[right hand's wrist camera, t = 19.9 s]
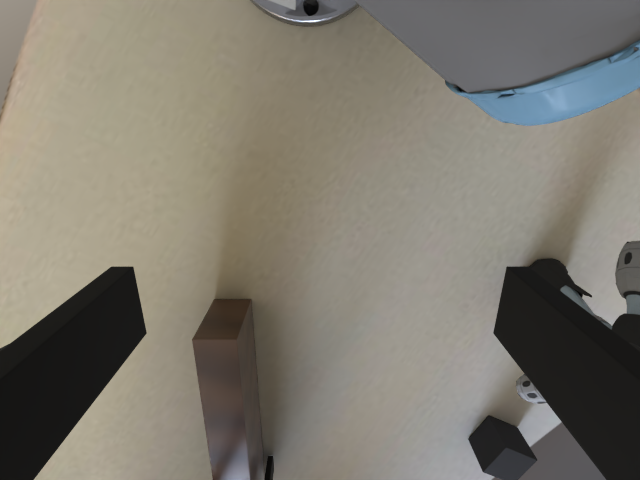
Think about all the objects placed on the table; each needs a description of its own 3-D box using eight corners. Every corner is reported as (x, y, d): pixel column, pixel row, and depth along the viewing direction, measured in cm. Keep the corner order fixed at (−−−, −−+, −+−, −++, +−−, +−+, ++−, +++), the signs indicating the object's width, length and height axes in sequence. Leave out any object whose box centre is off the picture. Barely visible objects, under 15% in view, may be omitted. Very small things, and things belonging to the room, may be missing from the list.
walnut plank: (214, 299, 43) (192, 339, 36) (251, 299, 43) (236, 339, 36) (234, 474, 53) (220, 534, 46) (264, 474, 53) (255, 534, 46)
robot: (568, 206, 39) (801, 297, 20) (604, 223, 40) (861, 327, 21) (472, 343, 45) (580, 511, 26) (504, 356, 46) (632, 528, 27)
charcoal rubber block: (488, 415, 49) (506, 447, 45) (517, 427, 50) (537, 460, 46) (467, 438, 51) (482, 472, 46) (496, 450, 52) (513, 484, 47)
